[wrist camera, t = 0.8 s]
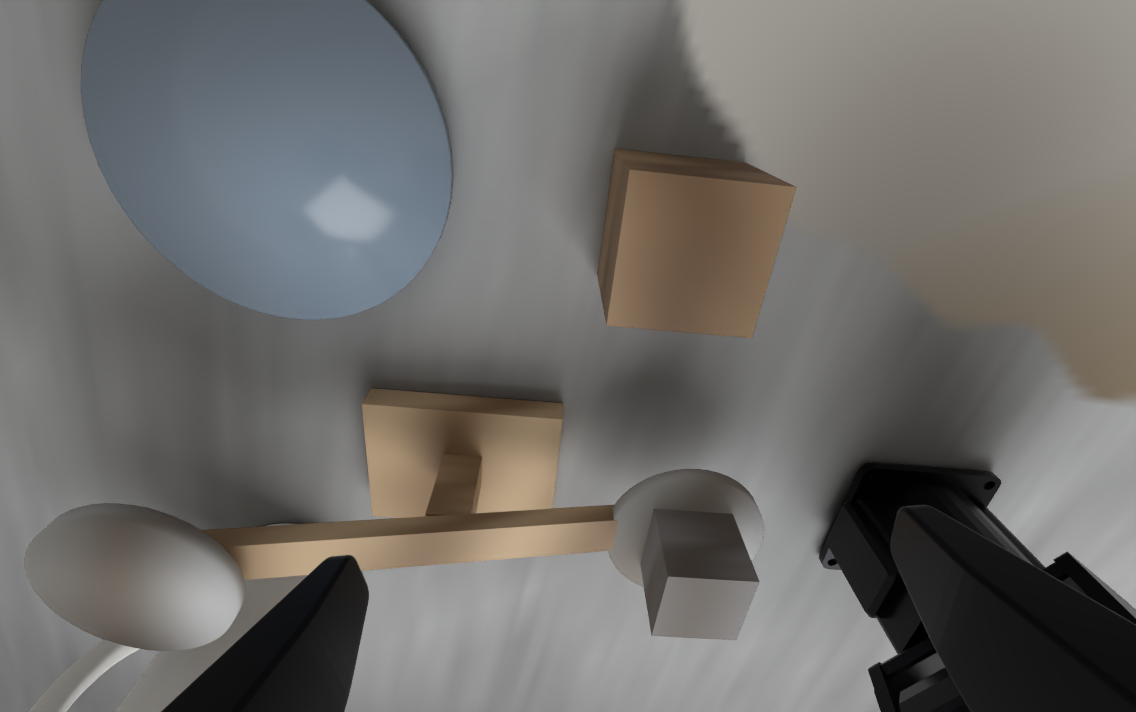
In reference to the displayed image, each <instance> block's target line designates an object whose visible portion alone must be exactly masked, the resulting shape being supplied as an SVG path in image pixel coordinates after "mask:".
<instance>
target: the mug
mask: <svg viewBox="0 0 1136 712" xmlns="http://www.w3.org/2000/svg"><path fill="white" fill-rule="evenodd" d="M278 525H294V524H289V523H281V524H272V525H267V526H278ZM306 576H308V575H300V576H288V577H275V578H263V579H250V580H244V581H245V587H246V596H245V600H244V603H243V605H242V607H241V609H240V611H239V613H238V614H237V616H236V618H235V619H234V621H233V623H232V624H231V626H230V627H229V629H228V630H227V631H226V632H225V633H224V634H223V635H222V636H220V637H219V638H218V639H216V640H214V641H212V642H210V643H208V644H206V645H203V646H200V647H196V648H192V649H186V650H177V651H159V652H158V654H157V655H156V657H155V658H154V659H153V661H152V662H151V663H150V665H149V666H148V668H147V669H146V670H145V672H144V673H143V674H142V676H141V677H140V679H139V680H138V681H137V683H136V684H135V685H134V687H133V688H132V690H131V691H130V692H129V694H128V695H127V696H126V698H125V699H124V701H123V702H122V703H121V705H120V706H119V708H118V709H117V710H116V712H161V711H162V710H163V709H164V708H165V707H166V706H167V705H169V704H170V703H171V702H172V701H173V700H174V699H175V698H176V697H177V696H178V695H179V694H180V693H181V692H183V691H184V690H185V689H186V688H187V687H188V686H189V685H190V684H191V683H192V682H193V681H194V680H195V679H197V678H198V677H199V676H200V675H201V674H202V673H203V672H204V671H205V670H206V669H207V668H208V667H209V666H211V665H212V664H213V663H214V662H215V661H216V660H217V659H218V658H219V657H220V656H221V655H222V654H224V653H225V652H226V651H227V650H228V649H229V648H230V647H231V646H232V645H233V644H234V643H235V642H236V641H238V640H239V639H240V638H241V637H242V636H243V635H244V634H245V633H246V632H247V631H248V630H249V629H250V628H252V627H253V626H254V625H255V624H256V623H257V622H258V621H259V620H260V619H261V618H262V617H263V616H264V615H266V614H267V613H268V612H269V611H270V610H271V609H272V608H273V607H274V606H275V605H276V604H277V603H278V602H280V601H281V600H282V599H283V598H284V597H285V596H286V595H287V594H288V593H289V592H290V591H291V590H292V589H294V588H295V587H296V586H297V585H298V584H299V583H300V582H301V581H302V580H303V579H304V578H305V577H306ZM137 650H139V648H133V647H129V646H124V645H120V644H117V643H114V642H110V641H107V640H105V639H103V640H102V641H100V642H99V643H98V644H97V645H95V646H94V647H93V648H92V649H90V650H89V651H88V652H87V653H85V654H84V655H83V656H82V657H81V658H79V659H78V660H77V661H76V662H75V663H74V664H73V665H72V666H70V667H69V668H68V669H67V670H66V671H65V672H64V673H63V674H62V675H61V676H60V677H59V678H58V679H57V680H56V681H55V682H54V683H53V684H52V685H51V686H50V687H49V688H48V690H47V691H46V692H45V693H44V694H43V695H42V696H41V697H40V699H39V700H38V701H37V702H36V703H35V705H34V706H33V707H32V709H31V710H30V711H29V712H66V711H67V710H68V709H69V707H70V706H71V705H72V704H73V703H74V702H75V700H76V699H77V698H78V697H79V696H80V695H81V694H82V693H83V692H84V691H85V690H86V689H87V688H88V687H89V686H90V685H91V684H92V683H93V682H94V681H95V680H96V679H97V678H98V677H100V676H101V675H102V674H103V673H104V672H105V671H107V670H108V669H109V668H110V667H112V666H113V665H114V664H116V663H117V662H119V661H120V660H121V659H123V658H125V657H126V656H128V655H130V654H131V653H133V652H135V651H137Z"/></svg>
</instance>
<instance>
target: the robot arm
mask: <svg viewBox="0 0 1136 712" xmlns="http://www.w3.org/2000/svg"><path fill="white" fill-rule="evenodd" d="M872 473H873V474H872ZM870 474H871V475H870ZM1000 485H1001V480H1000V479H999V478H998V477H997V476H996V475H994V474H993V473H992V472H989V471H979V470H965V469H952V468H938V467H925V466H912V465H898V464H885V463H867V464H865V465H863V466H862V467H860V469H859V470H858V472H857V474H856V477H855V479H854V481H853V483H852V485H851V487H850V490H849V492H848V494H847V496H846V498H845V501H844V503H843V505H842V507H841V509H840V511H839V514H838V516H837V518H836V520H835V522H834V524H833V527H832V529H831V531H830V533H829V535H828V537H827V540H826V542H825V544H824V546H823V548H822V551H821V553H820V555H819V559H820V561H821V563H822V565H823V567H825V568H827V569H836V570H842V572H843V573H844V575H845V577H846V579H847V580H848V582H849V584H850V586H851V588H852V589H853V591H854V593H855V595H856V596H857V598H858V600H859V602H860V603H861V605H862V607H863V609H864V611H865V612H866V613H867V614H868V616H869V617H871V618H877V619H878V621H879V623H880V624H881V626H882V628H883V630H884V631H885V633H886V635H887V637H888V638H889V640H890V642H891V643H892V645H893V647H894V649H895V650H896V652H897V654H898V655H896V656H894V657H892V658H891V659H889V660H887V661H886V662H884V663H880V662H879V663H877V664H875V665H873V666H872V667H870V668H869V669H868V671H869V674H870V677H871V680H872V683H873V686H874V689H875V690H874V692H875V695H876V698H877V701H878V704H879V708H880V711H881V712H1136V609H1134V608H1133V607H1132V606H1131V605H1130V604H1129V603H1128V602H1127V601H1126V600H1124V599H1123V598H1122V597H1121V596H1120V595H1118V594H1117V593H1116V592H1115V591H1114V590H1112V589H1111V588H1110V587H1109V586H1108V585H1107V584H1105V583H1104V582H1103V581H1102V580H1101V579H1099V578H1098V577H1097V576H1096V575H1095V574H1093V573H1092V572H1091V571H1090V570H1089V569H1088V568H1086V567H1085V566H1084V565H1083V564H1082V563H1080V562H1079V561H1078V560H1077V559H1076V558H1074V557H1073V556H1072V555H1071V554H1070V553H1069V552H1066V553H1064V554H1062V555H1060V556H1059V557H1057V558H1055V559H1054V561H1055V563H1053V564H1051V565H1050V566H1048V567H1046V568H1045V567H1044V566H1043V565H1042V564H1041V563H1040V561H1039V560H1038V559H1037V558H1036V557H1035V556H1034V555H1033V554H1032V553H1031V552H1030V551H1029V550H1028V549H1027V548H1026V547H1025V546H1024V545H1023V544H1022V543H1021V542H1020V541H1019V540H1018V539H1017V538H1016V537H1015V536H1014V535H1013V534H1012V533H1011V532H1010V531H1009V530H1008V529H1007V528H1006V527H1005V526H1004V525H1003V524H1002V523H1001V522H1000V521H999V520H998V519H997V518H996V517H995V516H994V515H993V514H992V513H991V512H990V510H989V509H988V508H987V506H988V504H989V503H990V501H991V499H992V498H993V496H994V495H995V493H996V492H997V490H998V488H999V487H1000ZM368 600H369V591H368V586H367V583H366V581H365V579H364V576H363V574H362V572H361V569H360V567H359V565H358V563H357V560H356V559H355V557H353V556H352V555H341V556H331V557H328V558H327V559H325V560H324V561H323V562H322V563H320V564H319V565H318V566H317V567H316V568H315V569H314V570H313V571H312V572H311V573H310V574H309V575H308V576H306V577H305V578H304V579H303V580H302V581H301V582H300V583H299V584H298V585H297V586H296V587H295V588H294V589H292V590H291V591H290V592H289V593H288V594H287V595H286V596H285V597H284V598H283V599H282V600H281V601H280V602H278V603H277V604H276V605H275V606H274V607H273V608H272V609H271V610H270V611H269V612H268V613H267V614H266V615H264V616H263V617H262V618H261V619H260V620H259V621H258V622H257V623H256V624H255V625H254V626H253V627H252V628H250V629H249V630H248V631H247V632H246V633H245V634H244V635H243V636H242V637H241V638H240V639H239V640H238V641H236V642H235V643H234V644H233V645H232V646H231V647H230V648H229V649H228V650H227V651H226V652H225V653H224V654H222V655H221V656H220V657H219V658H218V659H217V660H216V661H215V662H214V663H213V664H212V665H211V666H209V667H208V668H207V669H206V670H205V671H204V672H203V673H202V674H201V675H200V676H199V677H198V678H197V679H195V680H194V681H193V682H192V683H191V684H190V685H189V686H188V687H187V688H186V689H185V690H184V691H183V692H181V693H180V694H179V695H178V696H177V697H176V698H175V699H174V700H173V701H172V702H171V703H170V704H169V705H167V706H166V707H165V708H164V709H163V710H162V711H161V712H344V711H345V707H346V704H347V700H348V697H349V692H350V688H351V684H352V679H353V675H354V670H355V665H356V660H357V655H358V650H359V645H360V640H361V635H362V630H363V625H364V621H365V616H366V611H367V606H368Z"/></svg>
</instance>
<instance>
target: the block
mask: <svg viewBox="0 0 1136 712" xmlns="http://www.w3.org/2000/svg"><path fill="white" fill-rule="evenodd" d="M795 191H796V187H795V186H793V185H791V184H789V183H787V182H785V181H783V180H780V179H778V178H776V177H774V176H772V175H770V174H768V173H766V172H764V171H762V170H760V169H758V168H756V167H754V166H751V165H749V164H747V163H744V162H735V161H726V160H716V159H707V158H698V157H688V156H679V155H670V154H660V153H651V152H642V151H632V150H623V149H614V156H613V164H612V171H611V179H610V186H609V194H608V201H607V209H606V216H605V224H604V231H603V239H602V246H601V253H600V261H599V268H598V281H599V287H600V292H601V298H602V303H603V309H604V314H605V320H606V325H608V326H619V327H631V328H642V329H653V330H665V331H676V332H688V333H699V334H711V335H722V336H734V337H745V338H752V337H753V333H754V330H755V326H756V323H757V320H758V316H759V313H760V309H761V306H762V303H763V299H764V296H765V292H766V289H767V286H768V282H769V279H770V275H771V272H772V269H773V265H774V262H775V258H776V255H777V252H778V248H779V245H780V242H781V238H782V235H783V231H784V228H785V225H786V221H787V218H788V214H789V211H790V208H791V204H792V201H793V197H794V194H795Z"/></svg>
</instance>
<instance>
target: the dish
mask: <svg viewBox="0 0 1136 712" xmlns="http://www.w3.org/2000/svg"><path fill="white" fill-rule="evenodd" d="M81 95H82V104H83V113H84V119H85V123H86V127H87V131H88V135H89V140H90V143H91V146H92V148H93V151H94V154H95V157H96V159H97V162H98V165H99V167H100V169H101V171H102V173H103V175H104V177H105V179H106V181H107V183H108V185H109V187H110V189H111V191H112V193H113V194H114V196H115V197H116V199H117V201H118V202H119V204H120V205H121V207H122V209H123V210H124V212H125V213H126V214H127V216H128V217H129V218H130V220H131V221H132V222H133V224H134V225H135V226H136V227H137V229H138V230H139V231H140V232H141V234H142V235H143V236H144V237H145V238H146V239H147V240H148V241H149V242H150V243H151V244H152V245H153V247H154V248H155V249H156V250H157V251H158V252H159V253H161V254H162V255H163V256H164V257H165V258H166V259H167V260H168V261H169V262H171V263H172V264H173V265H174V266H175V267H176V268H178V269H179V270H180V271H182V272H183V273H184V274H186V275H187V276H188V277H190V278H191V279H192V280H194V281H195V282H197V283H199V284H200V285H202V286H204V287H205V288H207V289H208V290H210V291H212V292H213V293H215V294H217V295H219V296H221V297H223V298H225V299H227V300H230V301H232V302H234V303H236V304H239V305H241V306H244V307H247V308H249V309H252V310H255V311H258V312H262V313H266V314H270V315H274V316H278V317H285V318H292V319H308V320H321V319H331V318H339V317H344V316H348V315H352V314H356V313H359V312H362V311H364V310H367V309H370V308H373V307H375V306H376V305H378V304H380V303H382V302H384V301H386V300H387V299H389V298H391V297H392V296H393V295H395V294H396V293H397V292H399V291H400V290H401V289H403V288H404V287H405V286H406V285H407V284H408V283H409V282H410V281H411V280H412V279H413V278H414V277H415V276H416V275H417V274H418V272H419V271H420V270H421V268H422V267H423V266H424V264H425V263H426V261H427V260H428V259H429V257H430V256H431V254H432V253H433V251H434V249H435V247H436V245H437V243H438V241H439V239H440V238H441V235H442V233H443V230H444V227H445V224H446V221H447V218H448V214H449V209H450V204H451V199H452V188H453V161H452V149H451V144H450V139H449V133H448V128H447V124H446V121H445V118H444V115H443V112H442V108H441V105H440V102H439V100H438V98H437V95H436V93H435V91H434V89H433V86H432V84H431V82H430V80H429V78H428V76H427V74H426V72H425V71H424V69H423V67H422V65H421V64H420V62H419V60H418V59H417V57H416V55H415V54H414V52H413V51H412V50H411V48H410V47H409V45H408V44H407V43H406V41H405V40H404V39H403V37H402V36H401V35H400V33H399V32H398V31H397V30H396V29H395V28H394V26H393V25H392V24H391V23H390V22H389V21H388V20H387V19H386V18H385V17H384V16H383V15H382V13H381V12H380V11H379V10H378V9H377V8H375V7H374V6H373V5H372V4H371V3H370V2H368V1H367V0H103V2H102V3H101V5H100V7H99V9H98V11H97V12H96V14H95V16H94V18H93V21H92V24H91V27H90V30H89V32H88V35H87V38H86V42H85V48H84V53H83V59H82V66H81Z"/></svg>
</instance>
